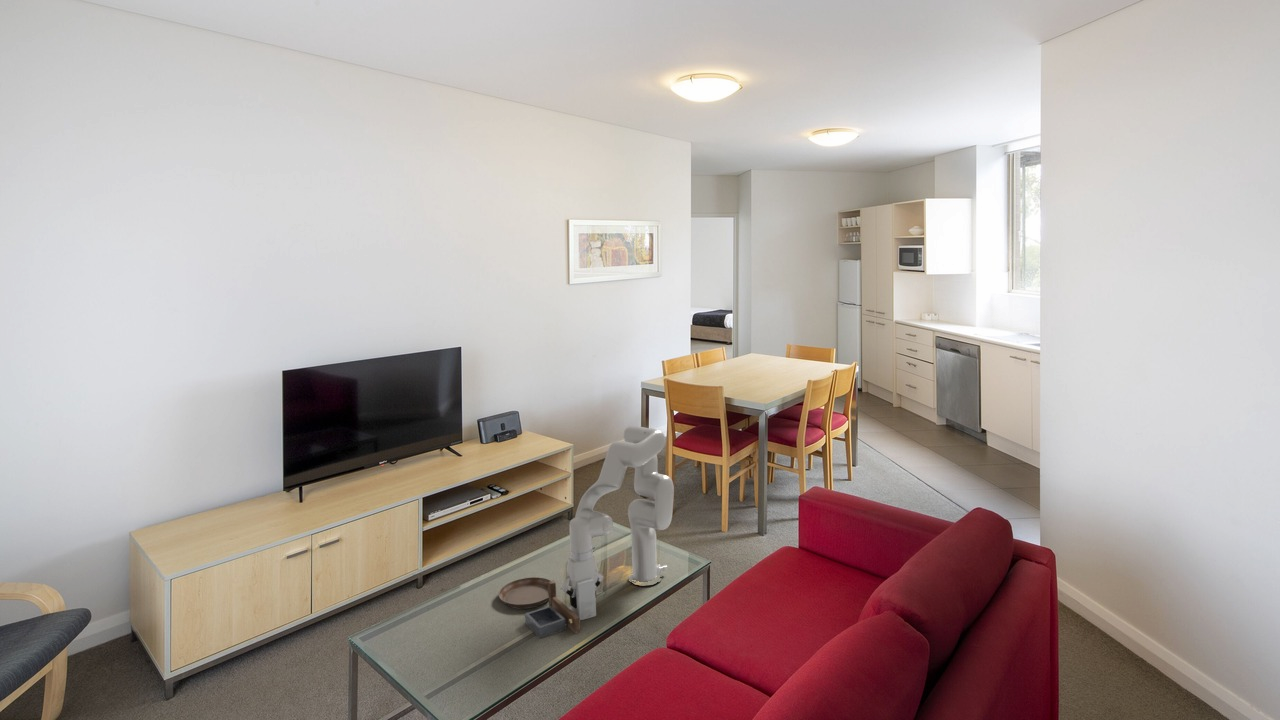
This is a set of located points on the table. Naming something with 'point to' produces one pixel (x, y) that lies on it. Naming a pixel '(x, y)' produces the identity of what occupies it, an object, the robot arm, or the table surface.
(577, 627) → the brown l-shaped wood piece
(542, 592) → the plant saucer
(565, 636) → the table surface
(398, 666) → the table surface
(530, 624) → the gray square tray
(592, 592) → the small box
